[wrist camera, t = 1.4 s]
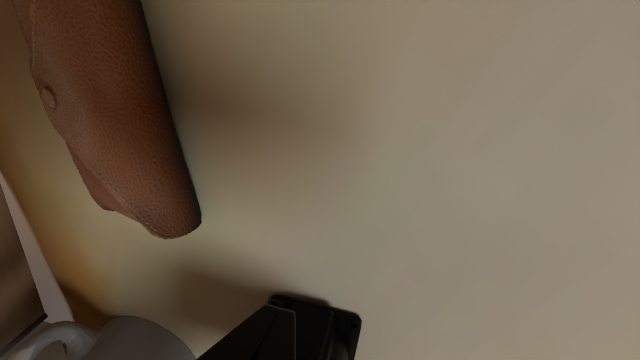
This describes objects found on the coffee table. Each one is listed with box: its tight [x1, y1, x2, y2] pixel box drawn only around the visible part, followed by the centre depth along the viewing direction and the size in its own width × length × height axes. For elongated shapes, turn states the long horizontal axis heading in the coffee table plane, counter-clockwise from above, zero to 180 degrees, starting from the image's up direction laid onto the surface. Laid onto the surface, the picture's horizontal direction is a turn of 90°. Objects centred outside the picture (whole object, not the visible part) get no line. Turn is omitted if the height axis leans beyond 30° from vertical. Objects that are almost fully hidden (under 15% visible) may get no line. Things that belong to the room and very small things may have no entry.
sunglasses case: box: [12, 0, 202, 239], centre depth 21 cm, size 18×7×7 cm, turn 6°
